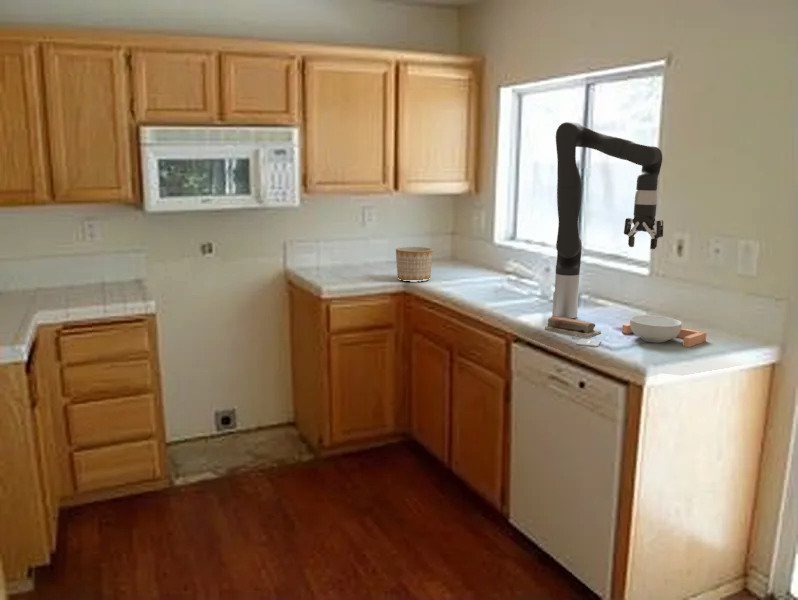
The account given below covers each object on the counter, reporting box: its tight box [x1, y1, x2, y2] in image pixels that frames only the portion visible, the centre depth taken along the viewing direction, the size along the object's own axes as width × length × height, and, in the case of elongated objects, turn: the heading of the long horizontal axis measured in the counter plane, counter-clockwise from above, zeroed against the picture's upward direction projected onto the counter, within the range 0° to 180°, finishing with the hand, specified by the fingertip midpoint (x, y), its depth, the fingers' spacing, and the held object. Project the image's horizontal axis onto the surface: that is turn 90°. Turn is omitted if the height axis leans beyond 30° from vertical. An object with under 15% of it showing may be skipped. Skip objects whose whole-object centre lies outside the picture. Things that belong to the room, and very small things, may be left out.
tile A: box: [576, 338, 602, 348], centre depth 230 cm, size 7×7×1 cm
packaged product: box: [544, 316, 602, 338], centre depth 247 cm, size 18×5×10 cm
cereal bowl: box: [629, 314, 683, 344], centre depth 235 cm, size 17×17×7 cm
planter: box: [395, 246, 434, 280], centre depth 354 cm, size 19×19×16 cm
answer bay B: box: [621, 322, 708, 348], centre depth 239 cm, size 12×25×3 cm, turn 40°
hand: (641, 248), depth 247 cm, fingers open, 8 cm apart
